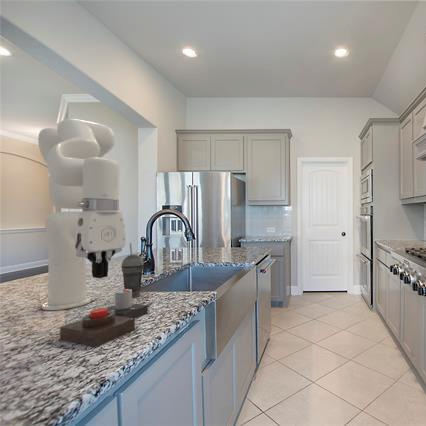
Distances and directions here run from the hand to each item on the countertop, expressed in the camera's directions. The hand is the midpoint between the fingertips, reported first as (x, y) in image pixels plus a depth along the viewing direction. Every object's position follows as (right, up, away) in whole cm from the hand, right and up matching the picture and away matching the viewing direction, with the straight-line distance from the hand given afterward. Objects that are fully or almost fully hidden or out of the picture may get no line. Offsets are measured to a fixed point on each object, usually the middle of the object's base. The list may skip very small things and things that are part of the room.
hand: (100, 276), depth 73 cm
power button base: (+1, -15, -1) cm, 15 cm away
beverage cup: (-13, -15, +32) cm, 38 cm away
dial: (-3, -12, +12) cm, 17 cm away
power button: (+1, -10, -1) cm, 10 cm away
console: (-3, -15, +12) cm, 19 cm away
